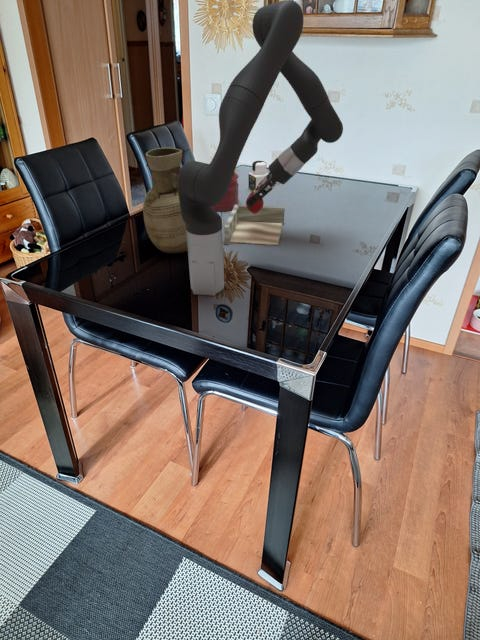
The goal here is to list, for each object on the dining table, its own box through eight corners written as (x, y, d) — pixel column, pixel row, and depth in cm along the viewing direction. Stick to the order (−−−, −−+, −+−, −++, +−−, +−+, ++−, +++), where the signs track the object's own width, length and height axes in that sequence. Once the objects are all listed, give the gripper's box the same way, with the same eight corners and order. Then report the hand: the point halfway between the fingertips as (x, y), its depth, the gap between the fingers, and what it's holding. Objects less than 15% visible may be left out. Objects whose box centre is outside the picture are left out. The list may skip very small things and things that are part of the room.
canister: (243, 209, 170) (243, 162, 160) (212, 213, 166) (210, 166, 156) (232, 199, 180) (231, 154, 170) (202, 203, 176) (199, 158, 166)
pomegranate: (261, 217, 142) (262, 193, 138) (244, 216, 143) (244, 192, 139) (264, 211, 147) (264, 187, 143) (248, 210, 148) (247, 187, 144)
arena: (279, 247, 140) (279, 229, 137) (224, 244, 143) (224, 226, 139) (283, 222, 157) (284, 206, 154) (235, 220, 160) (234, 204, 156)
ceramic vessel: (199, 229, 153) (193, 140, 136) (211, 254, 136) (206, 156, 119) (145, 235, 149) (132, 144, 132) (150, 262, 132) (136, 161, 115)
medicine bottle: (248, 188, 190) (248, 160, 184) (262, 186, 193) (263, 158, 186) (255, 193, 185) (255, 164, 178) (270, 191, 187) (270, 162, 181)
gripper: (280, 150, 139) (244, 186, 148) (276, 162, 128) (237, 200, 136) (296, 167, 142) (259, 202, 150) (293, 181, 130) (254, 217, 138)
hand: (249, 201), depth 143 cm, fingers closed on pomegranate, 5 cm apart
